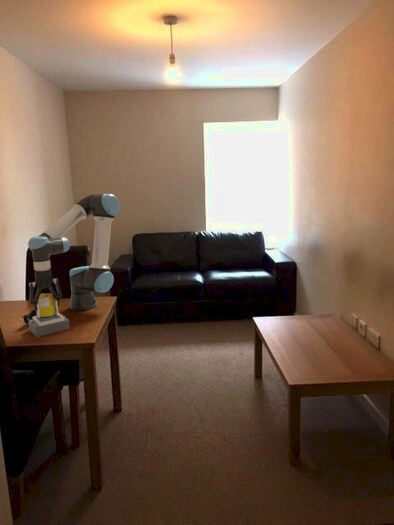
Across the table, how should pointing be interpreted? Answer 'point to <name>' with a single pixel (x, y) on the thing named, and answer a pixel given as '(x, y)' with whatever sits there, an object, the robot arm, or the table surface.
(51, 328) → the grey tray
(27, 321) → the night vision scope
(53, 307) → the supplement box
